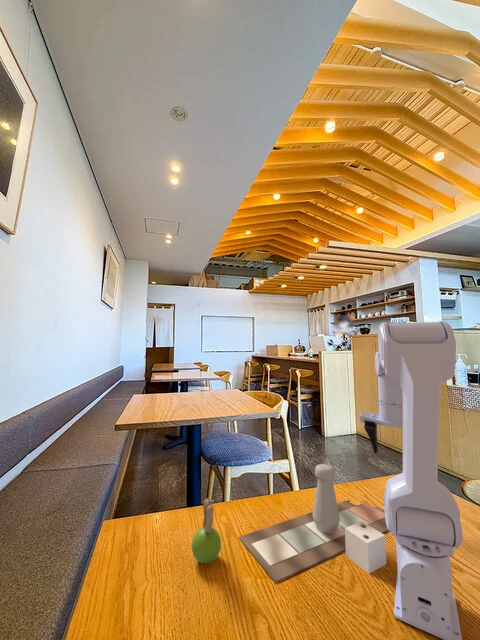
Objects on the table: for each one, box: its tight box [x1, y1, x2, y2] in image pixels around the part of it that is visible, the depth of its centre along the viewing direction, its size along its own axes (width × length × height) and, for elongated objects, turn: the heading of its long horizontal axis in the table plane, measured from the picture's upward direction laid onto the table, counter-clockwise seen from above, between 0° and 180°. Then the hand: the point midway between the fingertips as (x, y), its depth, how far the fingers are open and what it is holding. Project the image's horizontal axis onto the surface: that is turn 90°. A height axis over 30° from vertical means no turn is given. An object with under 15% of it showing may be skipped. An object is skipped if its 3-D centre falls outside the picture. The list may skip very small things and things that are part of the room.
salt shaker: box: [312, 463, 340, 534], centre depth 62 cm, size 6×6×13 cm
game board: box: [238, 499, 389, 584], centre depth 61 cm, size 37×13×1 cm, turn 119°
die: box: [345, 521, 387, 574], centre depth 52 cm, size 5×5×5 cm
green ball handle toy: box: [191, 498, 222, 565], centre depth 52 cm, size 5×6×12 cm
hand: (393, 455), depth 68 cm, fingers open, 7 cm apart
